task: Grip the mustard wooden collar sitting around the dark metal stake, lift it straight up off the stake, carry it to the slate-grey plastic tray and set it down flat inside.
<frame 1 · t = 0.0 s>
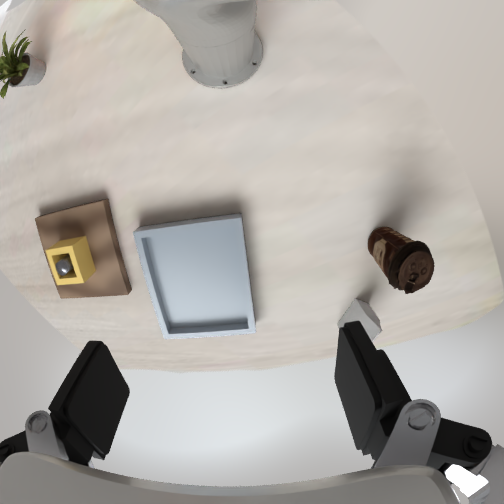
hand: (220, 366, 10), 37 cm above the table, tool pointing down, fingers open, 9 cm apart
collar: (77, 255, 45), point 2 cm above the table, touching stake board
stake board: (82, 251, 47), on the table
coffee cup: (380, 242, 48), on the table
house plant: (39, 77, 33), on the table
metal stake: (69, 261, 42), on the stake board, point 5 cm above the table
tray: (199, 278, 49), on the table
grey house shaped block: (352, 313, 54), on the table
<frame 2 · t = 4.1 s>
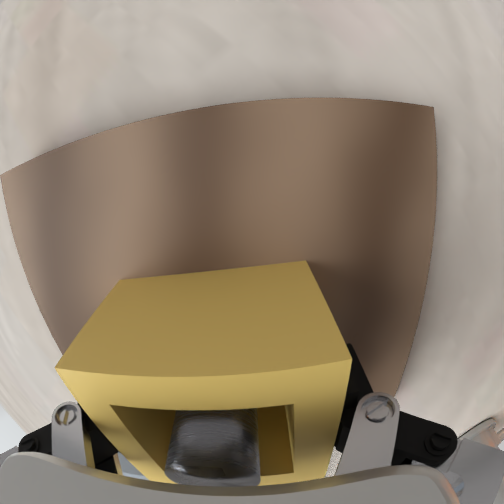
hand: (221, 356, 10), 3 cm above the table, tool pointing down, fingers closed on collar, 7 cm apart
collar: (222, 346, 11), point 2 cm above the table, touching gripper, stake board
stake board: (225, 319, 13), on the table
metal stake: (217, 402, 8), on the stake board, point 5 cm above the table
tray: (190, 483, 21), on the table
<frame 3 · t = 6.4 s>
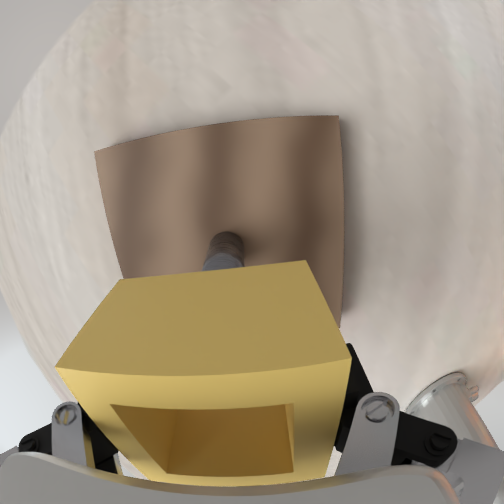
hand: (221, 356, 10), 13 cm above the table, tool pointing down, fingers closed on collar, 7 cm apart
collar: (222, 346, 11), point 12 cm above the table, touching gripper
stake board: (227, 239, 22), on the table
metal stake: (224, 265, 18), on the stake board, point 5 cm above the table
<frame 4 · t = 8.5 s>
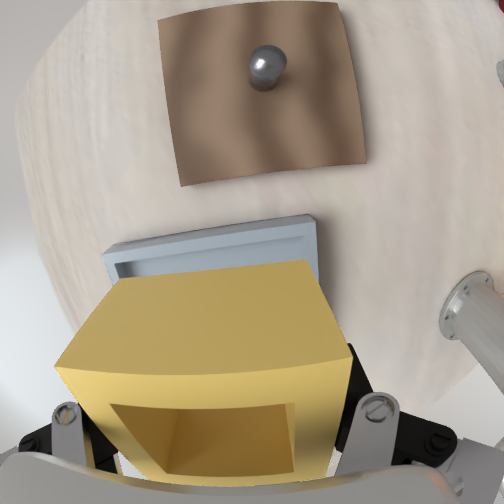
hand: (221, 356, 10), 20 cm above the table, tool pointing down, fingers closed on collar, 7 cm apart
collar: (222, 345, 11), point 19 cm above the table, touching gripper
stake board: (261, 83, 23), on the table
house plant: (501, 77, 21), on the table
metal stake: (265, 70, 19), on the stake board, point 5 cm above the table
tray: (219, 302, 32), on the table
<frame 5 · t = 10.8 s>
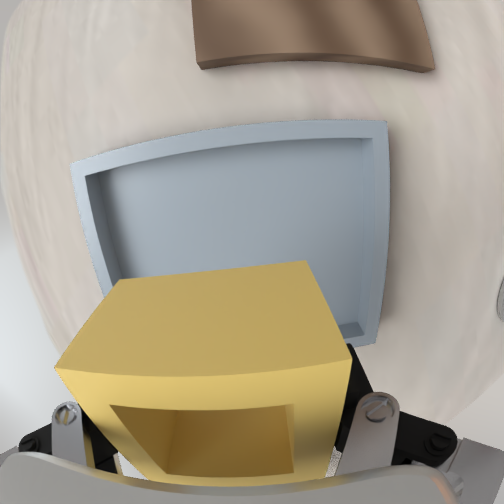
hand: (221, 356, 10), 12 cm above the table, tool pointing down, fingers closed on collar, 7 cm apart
collar: (222, 346, 11), point 11 cm above the table, touching gripper
tray: (237, 248, 22), on the table
when the fingers open (3 cm above the table, at t = 12.9 s): collar drops 2 cm, resting on tray.
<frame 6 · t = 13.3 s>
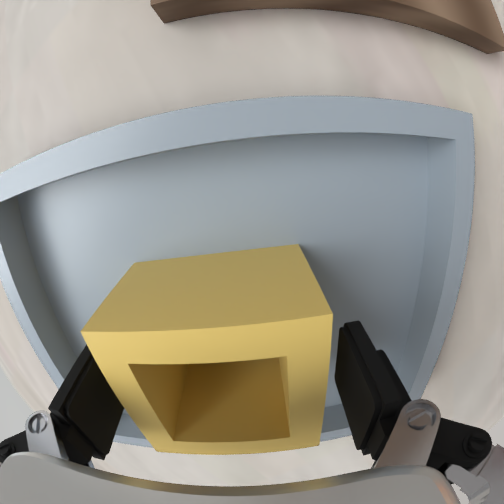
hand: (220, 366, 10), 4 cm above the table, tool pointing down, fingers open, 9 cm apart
collar: (225, 323, 13), point 1 cm above the table, touching tray
tray: (225, 311, 13), on the table
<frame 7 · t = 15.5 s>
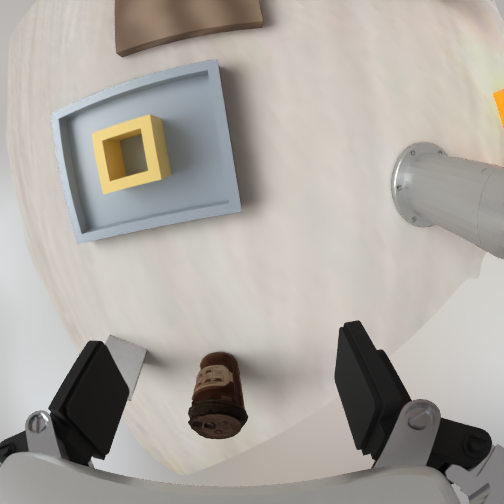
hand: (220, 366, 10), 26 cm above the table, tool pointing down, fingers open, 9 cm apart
collar: (139, 153, 30), point 1 cm above the table, touching tray
coffee cup: (218, 363, 43), on the table
tray: (141, 153, 31), on the table
grey house shaped block: (127, 348, 42), on the table
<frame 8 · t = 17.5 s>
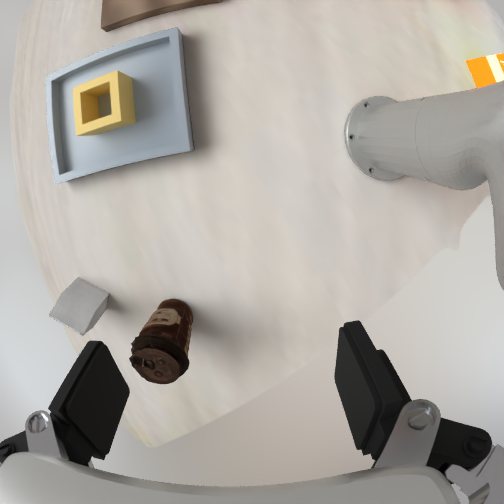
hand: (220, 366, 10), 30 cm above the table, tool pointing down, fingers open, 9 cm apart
collar: (112, 106, 31), point 1 cm above the table, touching tray
coffee cup: (174, 312, 45), on the table
orange juice: (483, 76, 29), on the table
tray: (114, 107, 32), on the table
grey house shaped block: (92, 292, 43), on the table
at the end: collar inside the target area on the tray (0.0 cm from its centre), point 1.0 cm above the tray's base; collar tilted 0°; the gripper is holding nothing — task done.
